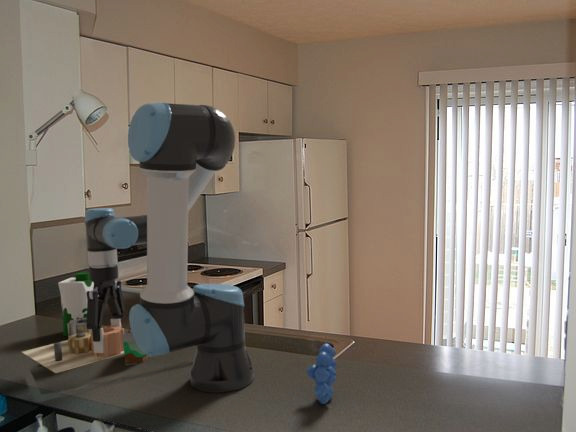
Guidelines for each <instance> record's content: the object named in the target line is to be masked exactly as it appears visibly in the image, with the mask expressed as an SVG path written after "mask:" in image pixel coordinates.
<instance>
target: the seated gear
mask: <svg viewBox="0 0 576 432" xmlns="http://www.w3.org/2000/svg"><path fill="white" fill-rule="evenodd" d="M67 324H68V336H67V338H68V337H69V336H72V335H74V334H76V333H83V332H87V333H91V331H92V329H87V328H86V324H87V318H83V317H82V318H79V319H76V320H71V321H70V323H67ZM97 325H98V324H97Z"/></svg>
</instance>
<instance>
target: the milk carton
mask: <svg viewBox="0 0 576 432" xmlns="http://www.w3.org/2000/svg"><path fill="white" fill-rule="evenodd" d="M57 285H58V288H59V293H60V303H61V313H62V317H61V318H62V335H63V337H68V324H67V323H70V321H71V320H76V319H79V318H82V317H83V318H87V301H88V300H87V291H92V290H93V287H94V283H93V282H92V281H90V280H89V271H78V272H76V273H75V277H69V278H67V279H64V280H62V281H59V282H58V283H57Z"/></svg>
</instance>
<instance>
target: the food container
mask: <svg viewBox="0 0 576 432" xmlns="http://www.w3.org/2000/svg"><path fill="white" fill-rule="evenodd" d="M122 342H123V346H124V354H123V355H124V365H125V366H131V365H132V366H133V365H137V364H141V363H144V362H147V361H149V360H150V359H151V357H152V356H148V355H146V354H145V353H143V352H142V351H141V349H140V348H139V347H138V345H137V343H136V341H135V339H134V337H133V334H132V331H131V327H130V328H129V330H128V331H127V333H125V332H124V333H123V334H122Z"/></svg>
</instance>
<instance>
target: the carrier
mask: <svg viewBox="0 0 576 432" xmlns="http://www.w3.org/2000/svg"><path fill="white" fill-rule="evenodd" d="M21 353H22V354H24V355H26V356H27V357H28V358H29V359H32V360H34V361H35V362H37V363H38V364H39V365H42V366H43V367H45V368H46V369H48V370H49V371H51V372H53V373H54V374H58V373H59V374H60V373H62V372H66V371H68V370H73V369H76V368H79V367H83V366H87V365H90V364H93V363H97V362H101V361H104V360H108V359H111V358H114V357H118V356H121V355H124V351H121V354H118V355H116V354H115V355H110V356H109V357H104V356H94V353H92V344H91V333H87V332H83V333H76V334H74V335H72V336H69V337H68V336H67V340H62V341H58V342H54V343H50V344H48V345H42V346H39V347H35V348H32V349H27V350H22V351H21Z"/></svg>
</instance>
